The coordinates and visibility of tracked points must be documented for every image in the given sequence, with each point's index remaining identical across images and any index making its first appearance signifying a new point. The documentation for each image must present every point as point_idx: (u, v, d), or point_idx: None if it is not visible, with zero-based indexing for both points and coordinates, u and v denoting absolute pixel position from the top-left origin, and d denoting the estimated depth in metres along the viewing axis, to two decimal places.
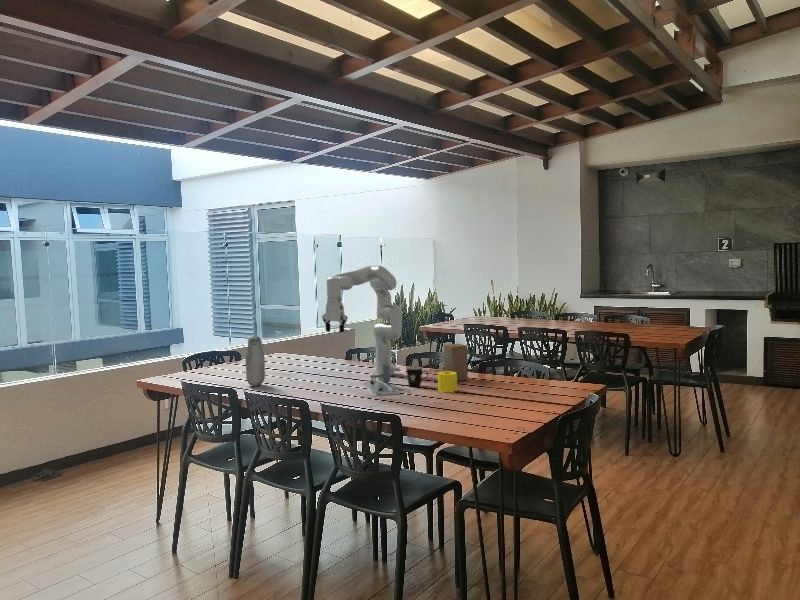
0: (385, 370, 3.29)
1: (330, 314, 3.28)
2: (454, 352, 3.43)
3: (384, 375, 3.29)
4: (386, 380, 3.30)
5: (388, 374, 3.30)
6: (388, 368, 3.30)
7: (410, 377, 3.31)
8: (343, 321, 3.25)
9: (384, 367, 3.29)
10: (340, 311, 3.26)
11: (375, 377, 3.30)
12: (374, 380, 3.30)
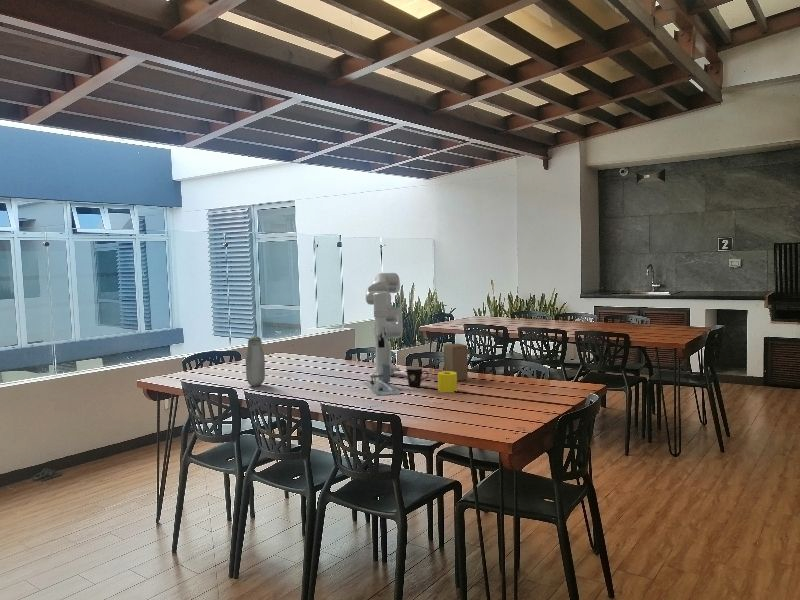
0: (385, 370, 3.29)
1: None
2: (454, 352, 3.43)
3: (384, 375, 3.29)
4: (386, 380, 3.30)
5: (388, 374, 3.30)
6: (388, 368, 3.30)
7: (410, 377, 3.31)
8: None
9: (384, 367, 3.29)
10: None
11: (375, 377, 3.30)
12: (374, 380, 3.30)
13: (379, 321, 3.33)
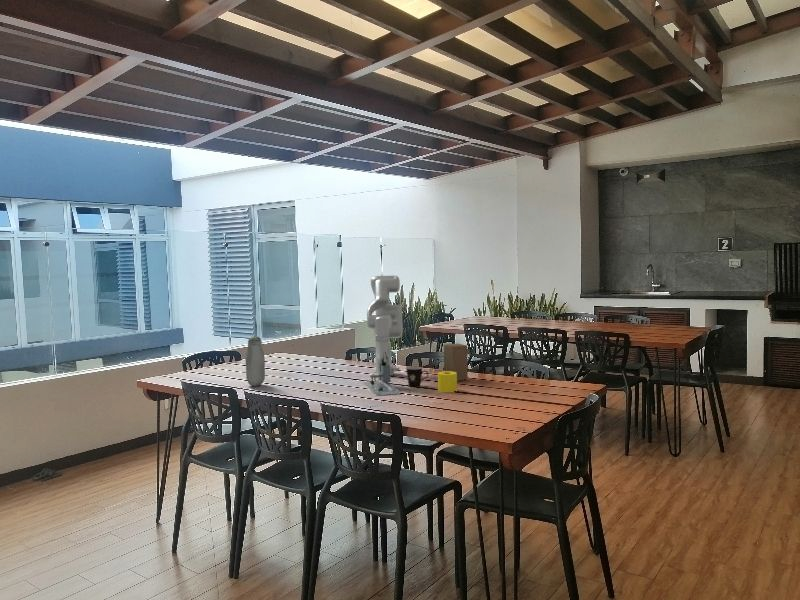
0: (385, 370, 3.29)
1: None
2: (454, 352, 3.43)
3: (384, 375, 3.29)
4: (386, 380, 3.29)
5: (388, 374, 3.30)
6: (388, 368, 3.29)
7: (410, 377, 3.31)
8: None
9: (384, 367, 3.29)
10: None
11: (375, 377, 3.30)
12: (374, 380, 3.30)
13: (381, 346, 3.31)
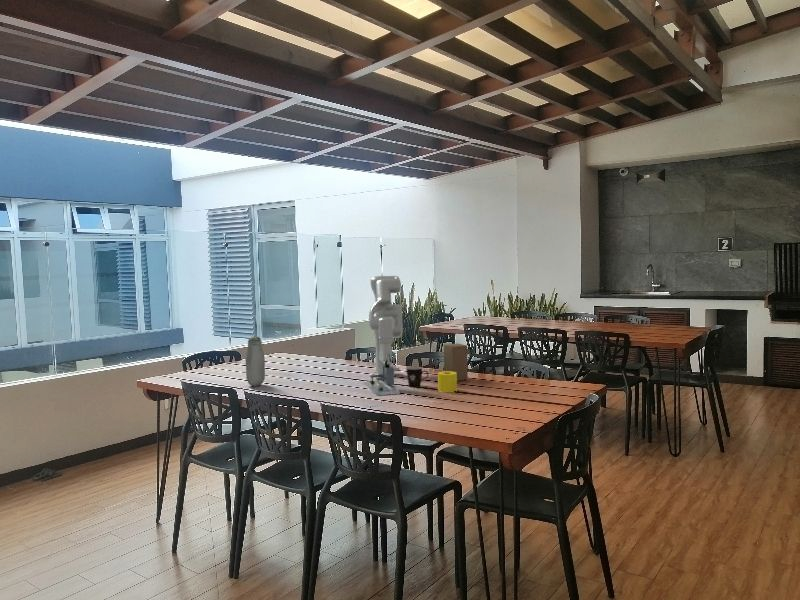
0: (389, 373, 3.22)
1: None
2: (454, 352, 3.43)
3: (388, 378, 3.22)
4: (390, 383, 3.22)
5: (392, 377, 3.23)
6: (392, 371, 3.22)
7: (410, 377, 3.31)
8: None
9: (388, 369, 3.22)
10: None
11: None
12: (378, 383, 3.23)
13: (384, 348, 3.24)
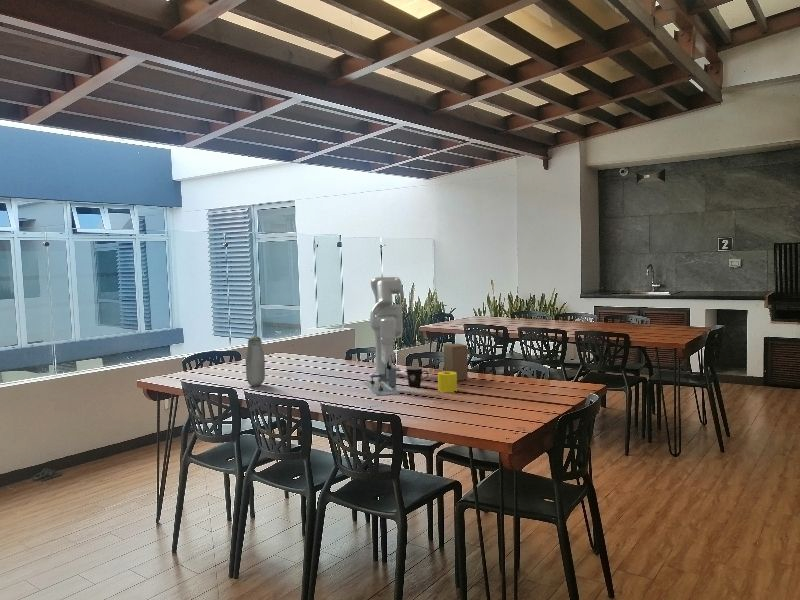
0: (391, 374, 3.18)
1: None
2: (454, 352, 3.43)
3: (390, 379, 3.18)
4: (392, 384, 3.19)
5: (394, 378, 3.19)
6: (394, 372, 3.19)
7: (410, 377, 3.31)
8: None
9: (390, 371, 3.18)
10: None
11: (380, 381, 3.19)
12: (379, 384, 3.19)
13: (386, 349, 3.20)
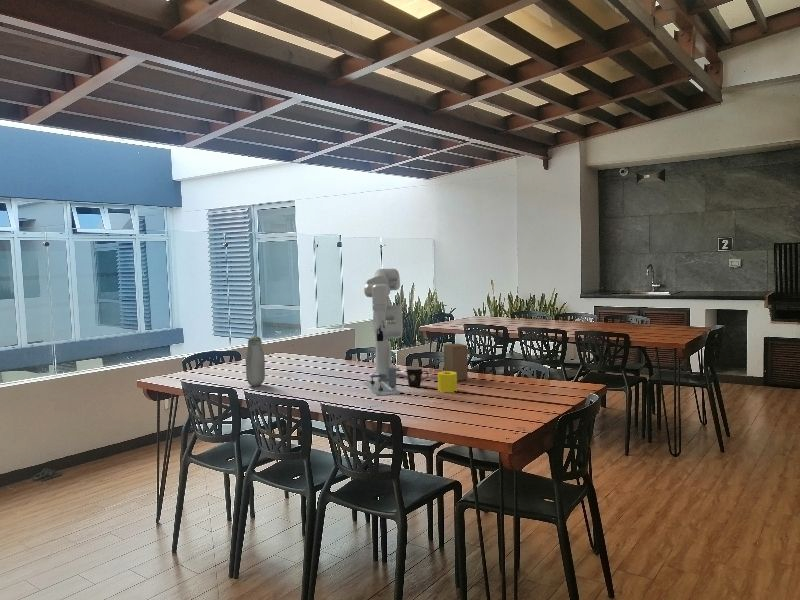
0: (391, 374, 3.18)
1: None
2: (454, 352, 3.43)
3: (390, 379, 3.18)
4: (392, 384, 3.18)
5: (394, 378, 3.19)
6: (394, 372, 3.18)
7: (410, 377, 3.31)
8: None
9: (390, 371, 3.18)
10: None
11: (381, 381, 3.19)
12: (379, 384, 3.19)
13: (378, 314, 3.27)
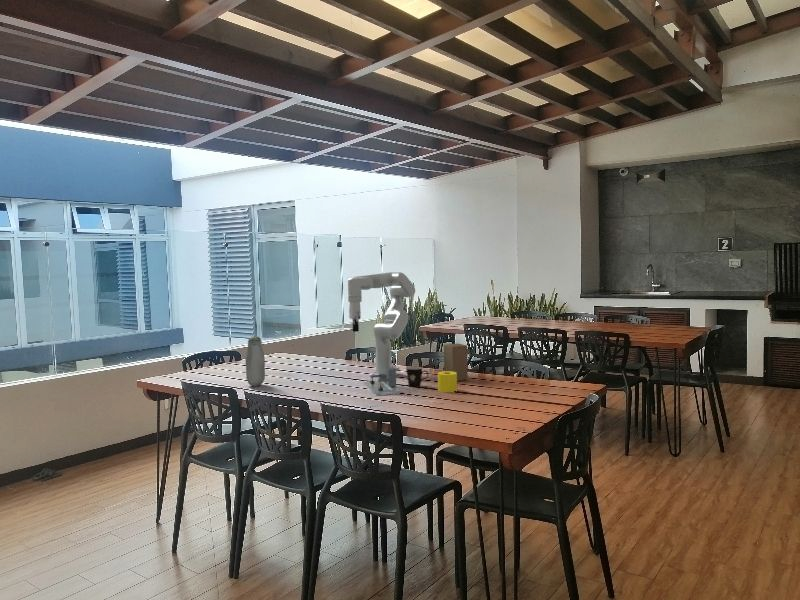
0: (391, 374, 3.18)
1: None
2: (454, 352, 3.43)
3: (390, 379, 3.18)
4: (392, 384, 3.18)
5: (394, 378, 3.19)
6: (394, 372, 3.18)
7: (410, 377, 3.31)
8: None
9: (390, 371, 3.18)
10: None
11: (381, 381, 3.19)
12: (379, 384, 3.19)
13: (353, 305, 3.42)
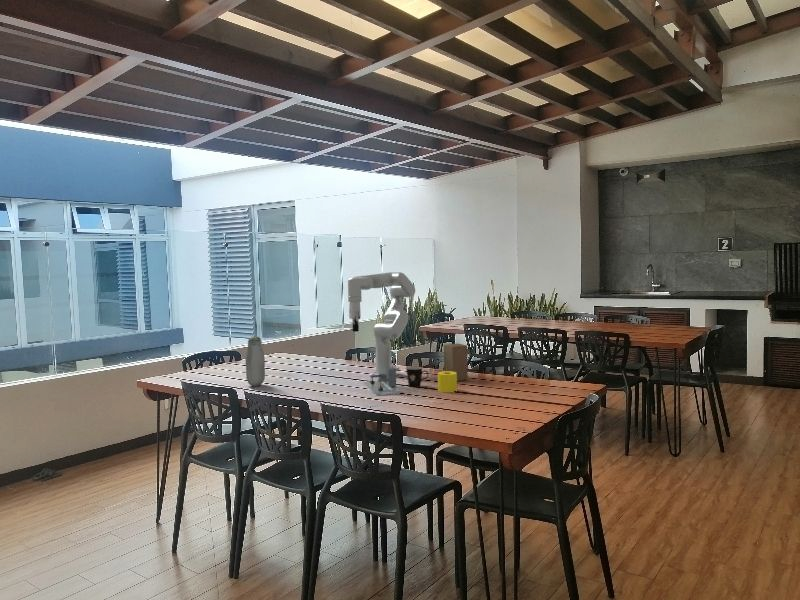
0: (391, 374, 3.18)
1: None
2: (454, 352, 3.43)
3: (390, 379, 3.18)
4: (392, 384, 3.18)
5: (394, 378, 3.19)
6: (394, 372, 3.18)
7: (410, 377, 3.31)
8: None
9: (390, 371, 3.18)
10: None
11: (381, 381, 3.19)
12: (379, 384, 3.19)
13: (353, 305, 3.42)
